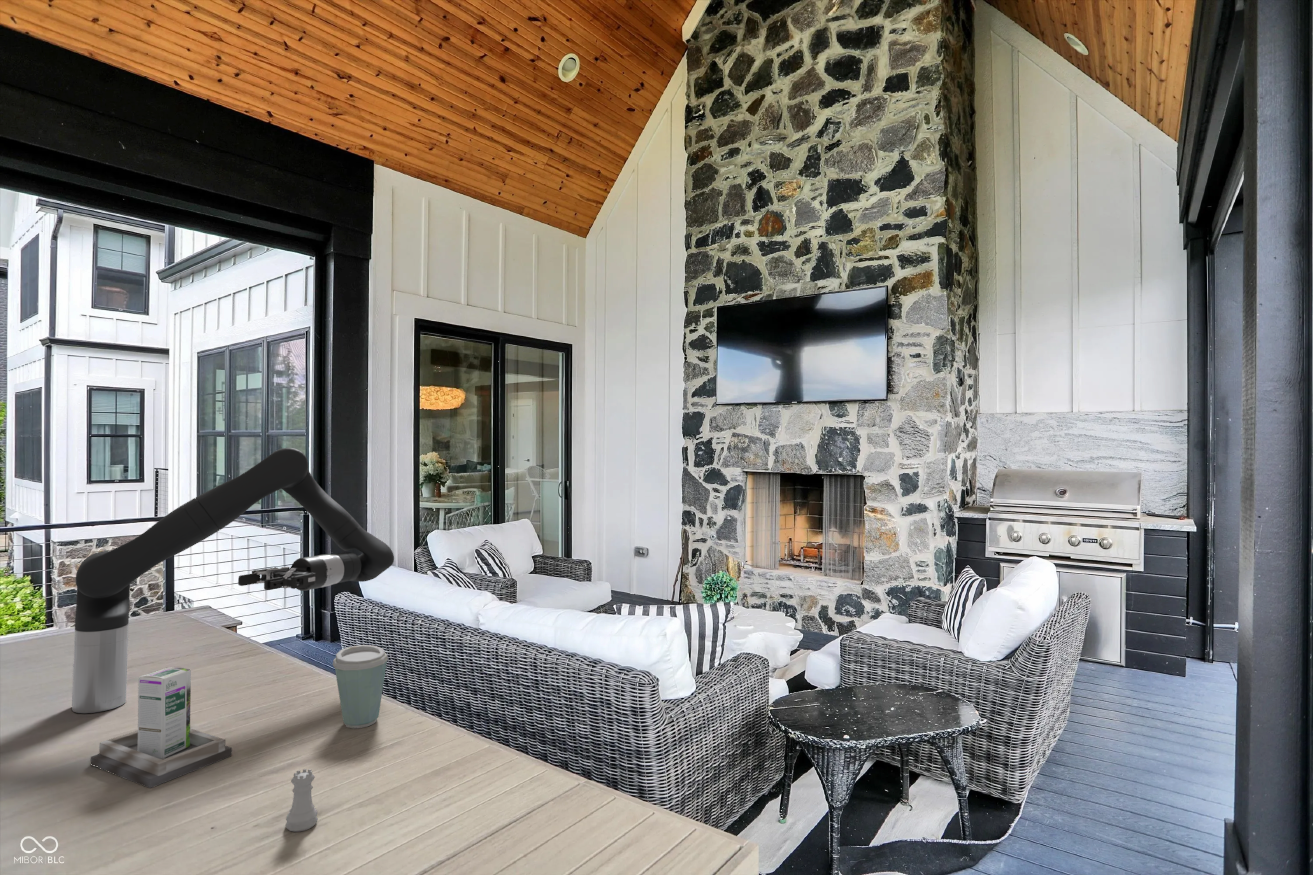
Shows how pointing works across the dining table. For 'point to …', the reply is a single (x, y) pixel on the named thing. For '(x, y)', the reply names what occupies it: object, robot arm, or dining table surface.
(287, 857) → the dining table surface
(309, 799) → the rook chess piece
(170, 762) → the shallow rectangular tray
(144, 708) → the syrup box
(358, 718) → the disposable coffee cup
